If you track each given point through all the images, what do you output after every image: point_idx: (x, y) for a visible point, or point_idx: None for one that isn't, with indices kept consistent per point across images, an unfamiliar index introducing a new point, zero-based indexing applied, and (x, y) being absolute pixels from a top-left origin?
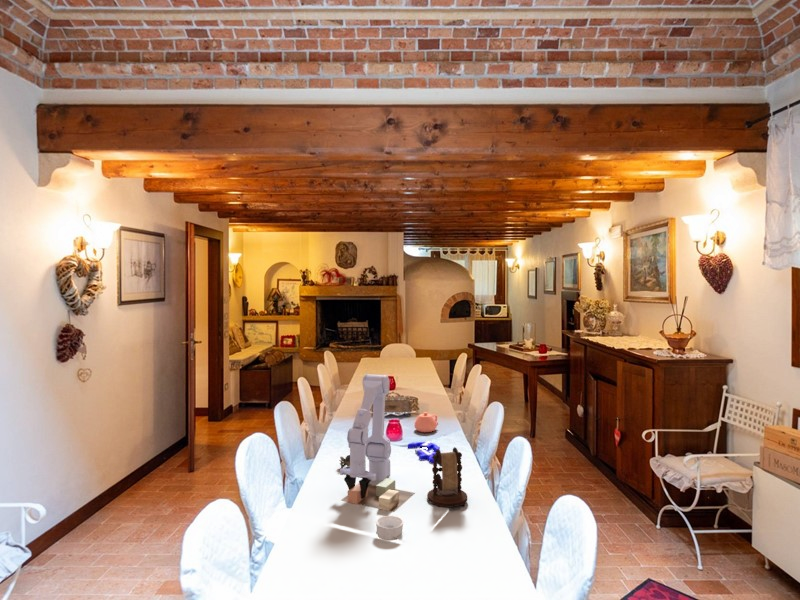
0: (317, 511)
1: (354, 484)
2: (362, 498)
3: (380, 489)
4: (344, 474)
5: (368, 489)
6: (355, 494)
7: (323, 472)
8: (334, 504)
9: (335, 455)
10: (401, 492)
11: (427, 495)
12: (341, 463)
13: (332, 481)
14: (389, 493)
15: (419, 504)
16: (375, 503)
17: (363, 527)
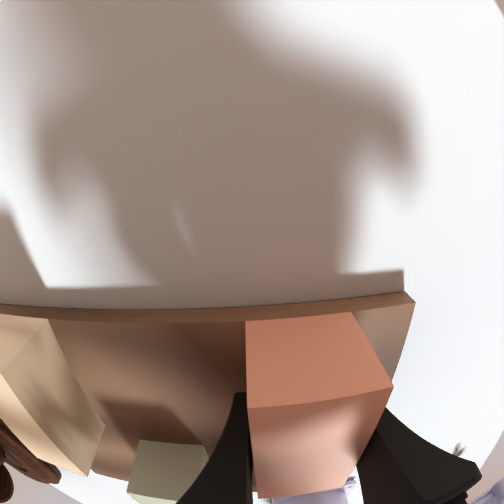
0: (472, 87)
1: (362, 473)
2: (236, 393)
3: (167, 481)
4: (480, 497)
5: None
6: (270, 387)
7: (497, 420)
8: (435, 246)
9: None
10: None
11: (23, 448)
12: None
13: (475, 413)
14: (30, 436)
15: None
16: (122, 377)
17: (13, 55)
